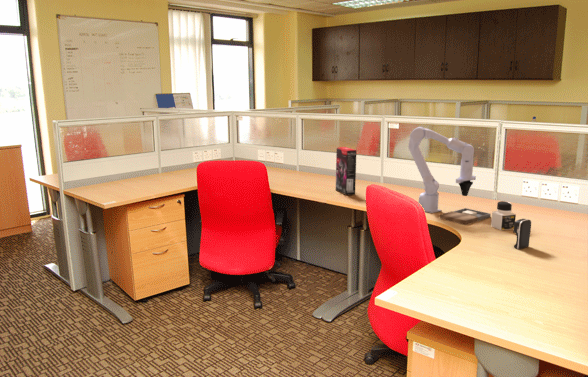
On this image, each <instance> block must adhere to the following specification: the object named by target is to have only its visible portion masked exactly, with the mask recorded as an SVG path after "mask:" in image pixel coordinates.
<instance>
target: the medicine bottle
mask: <svg viewBox="0 0 588 377" xmlns="http://www.w3.org/2000/svg"><path fill="white" fill-rule="evenodd" d="M512 210H513V204H512V203H511V202H510V201H505V200H503V201H498V202H497V204H496V210H495V211H494V210H493V211H492V212H491V222H490V226H491V227H493V228H494V229H497V230H500V231H508V230H514V223H515V221H516V213H513V212H512Z"/></svg>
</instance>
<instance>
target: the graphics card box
mask: <svg viewBox="0 0 588 377" xmlns="http://www.w3.org/2000/svg"><path fill="white" fill-rule="evenodd" d="M335 156H336V157H335V158H336V159H335V160H336V161H335V162H336V163H335V190H336V191H338V192H339V193H341V194H344V195H346V196H349V195H350V196H351V195H356V181H357V180H356V179H357V176H356V175H357V174H356V173H357V149H354V148H351V147H346V146H338V147H336V155H335Z"/></svg>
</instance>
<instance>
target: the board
mask: <svg viewBox="0 0 588 377" xmlns="http://www.w3.org/2000/svg"><path fill="white" fill-rule="evenodd" d="M453 211H454V210H453ZM453 211H449V212H444V213H441V214H440V215H439V219H440V220H444V221H448V222H452V223H456V224H460V225H465V226H467V225H470V224H473V223H476V222H479V221H478V217H475V216H471V215H466V214H462V213H457V212H453Z"/></svg>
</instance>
